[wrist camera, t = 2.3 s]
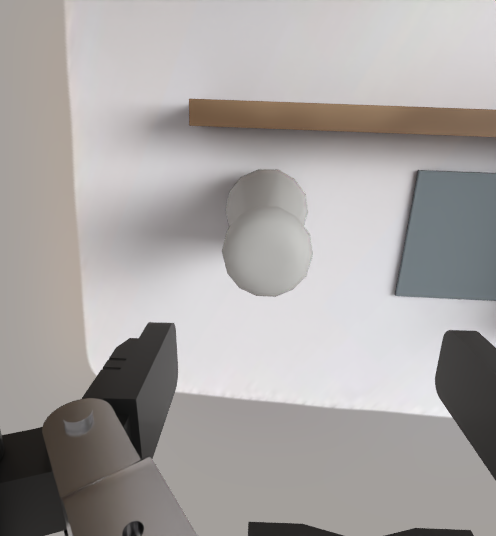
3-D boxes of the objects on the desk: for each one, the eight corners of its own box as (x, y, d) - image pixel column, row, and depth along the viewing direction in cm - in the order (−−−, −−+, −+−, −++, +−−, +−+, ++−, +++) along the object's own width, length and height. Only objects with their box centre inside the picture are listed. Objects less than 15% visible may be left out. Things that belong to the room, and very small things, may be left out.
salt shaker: (262, 148, 28) (261, 166, 16) (319, 199, 29) (360, 252, 17) (213, 209, 30) (178, 267, 17) (269, 254, 31) (273, 339, 19)
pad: (418, 170, 28) (419, 170, 28) (557, 175, 28) (560, 176, 27) (395, 294, 31) (396, 295, 31) (518, 300, 31) (520, 301, 31)
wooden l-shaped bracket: (200, 102, 27) (189, 98, 23) (634, 118, 26) (705, 117, 22) (202, 306, 33) (193, 333, 28) (559, 324, 32) (605, 354, 28)
